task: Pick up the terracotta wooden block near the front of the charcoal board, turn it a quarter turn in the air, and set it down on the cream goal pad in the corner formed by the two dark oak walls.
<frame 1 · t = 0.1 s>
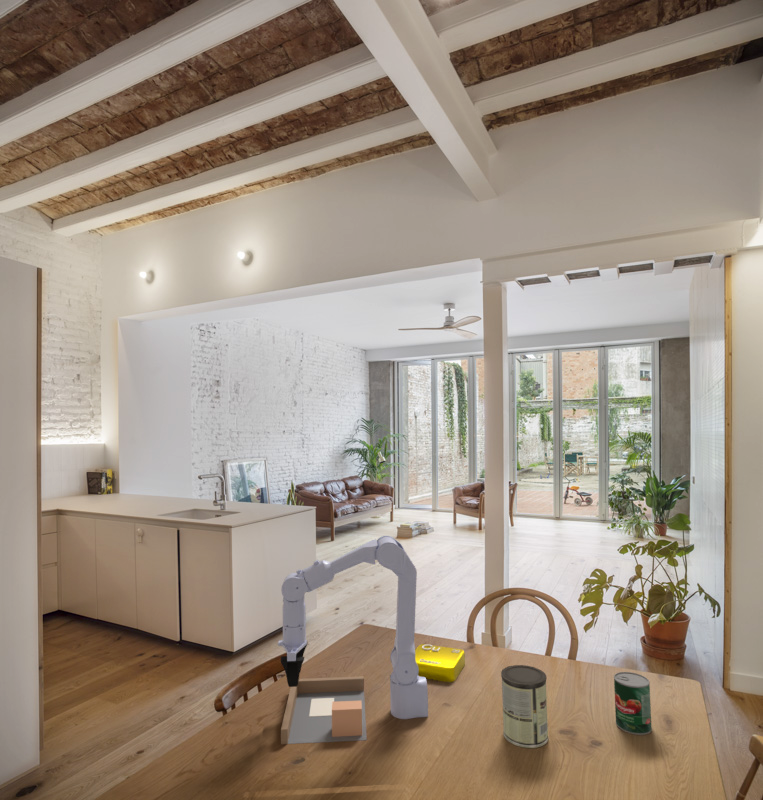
hand: (294, 679, 137), 10 cm above the table, tool pointing down, fingers open, 7 cm apart
arena: (329, 718, 137), on the table
canned tomato: (633, 726, 132), on the table
coffee can: (525, 736, 128), on the table
element tile: (435, 670, 165), on the table
block: (347, 731, 130), point 1 cm above the table, touching arena
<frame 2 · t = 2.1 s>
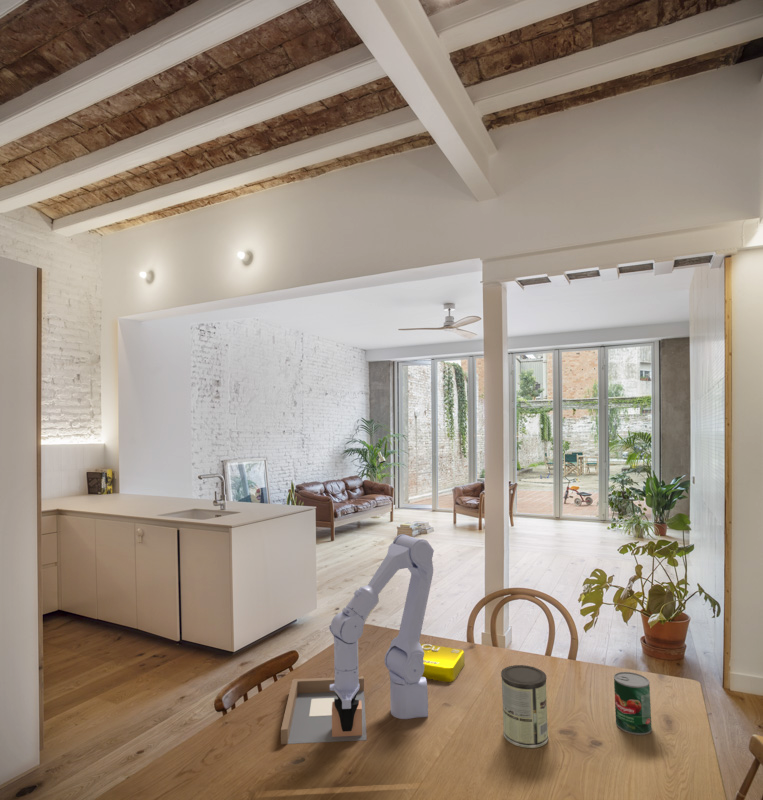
hand: (347, 725, 130), 2 cm above the table, tool pointing down, fingers closed on block, 4 cm apart
block: (347, 731, 130), point 1 cm above the table, touching arena, gripper
everything else where it was.
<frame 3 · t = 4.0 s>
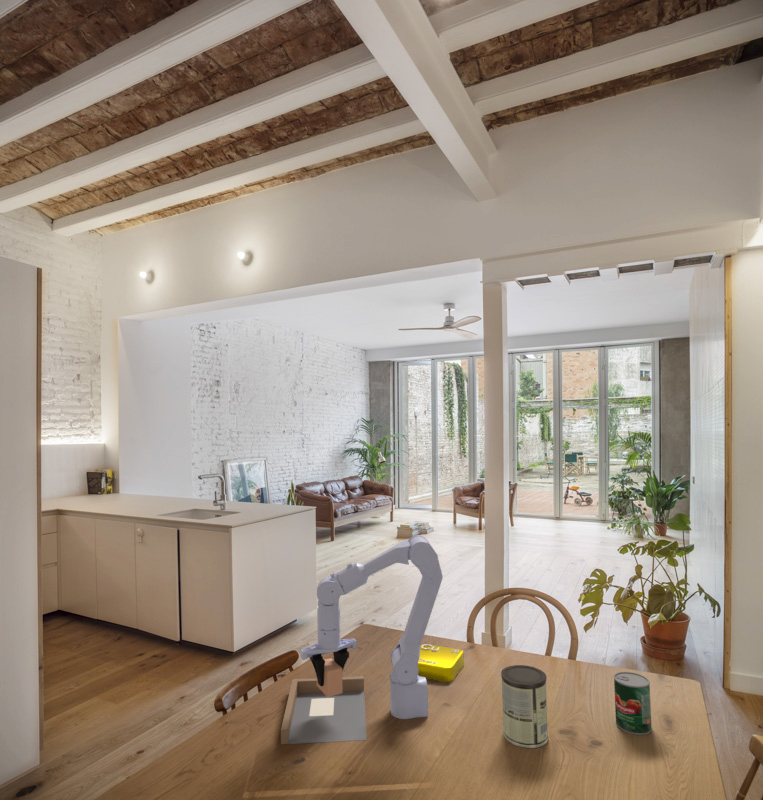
hand: (329, 682, 138), 9 cm above the table, tool pointing down, fingers closed on block, 4 cm apart
block: (329, 689, 138), point 7 cm above the table, touching gripper
everything else where it was.
when the fingers open (3 cm above the table, at t = 5.8 s): block stays where it is, resting on arena.
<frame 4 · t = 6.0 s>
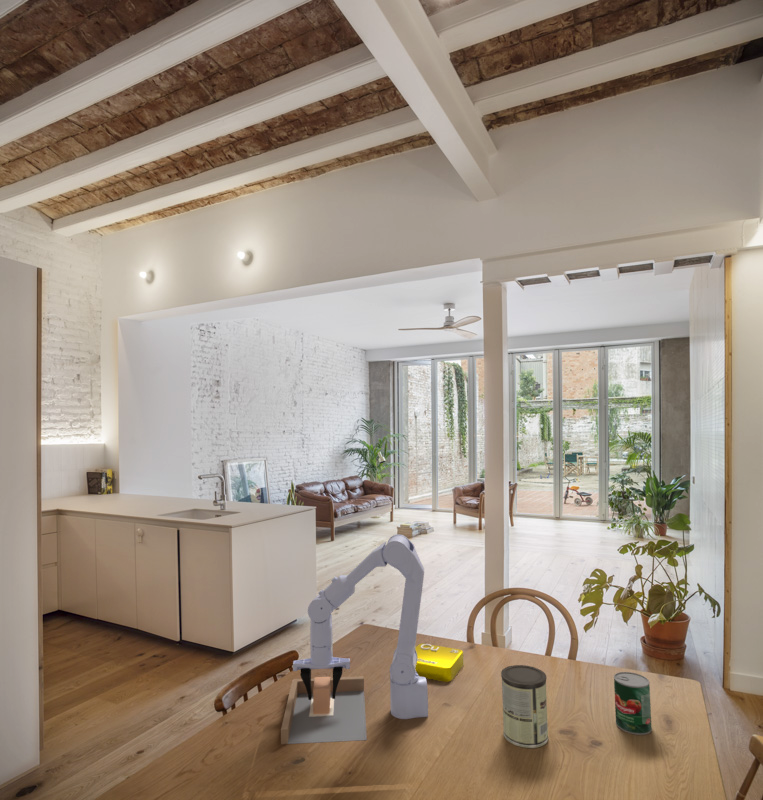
hand: (322, 697, 141), 3 cm above the table, tool pointing down, fingers open, 5 cm apart
block: (322, 706, 141), point 1 cm above the table, touching arena
everything else where it was.
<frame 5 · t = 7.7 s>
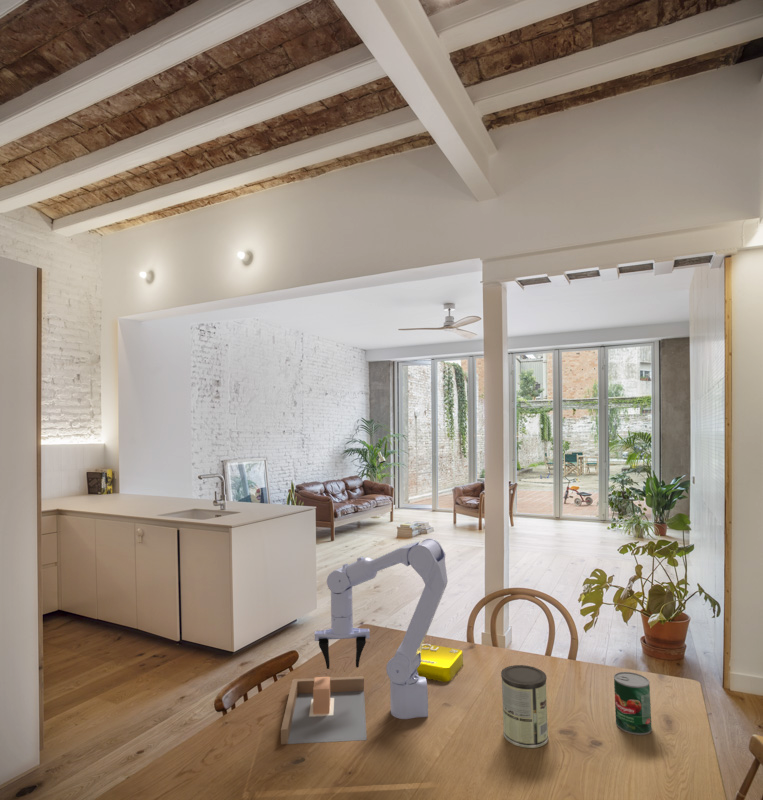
hand: (342, 666, 145), 9 cm above the table, tool pointing down, fingers open, 7 cm apart
nothing on the table moved.
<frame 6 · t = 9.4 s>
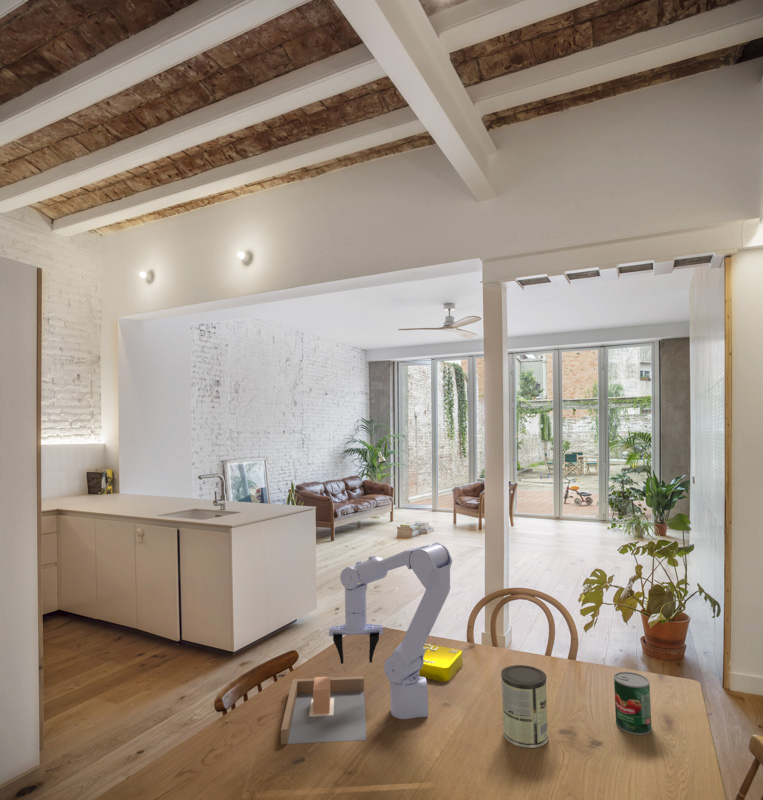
hand: (356, 661, 148), 9 cm above the table, tool pointing down, fingers open, 7 cm apart
at the end: block 0.0 cm from the target spot, point 0.9 cm above the table; block tilted 0°; the gripper is holding nothing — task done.
